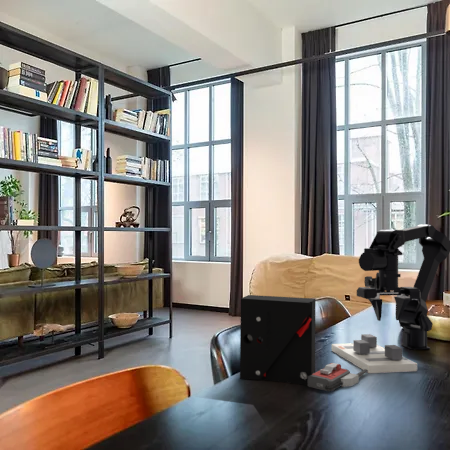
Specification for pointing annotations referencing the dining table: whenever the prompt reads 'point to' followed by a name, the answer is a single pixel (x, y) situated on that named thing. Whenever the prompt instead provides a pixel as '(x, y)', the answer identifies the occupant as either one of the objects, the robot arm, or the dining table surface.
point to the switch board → (374, 359)
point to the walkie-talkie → (333, 377)
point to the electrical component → (277, 338)
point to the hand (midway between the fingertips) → (388, 320)
